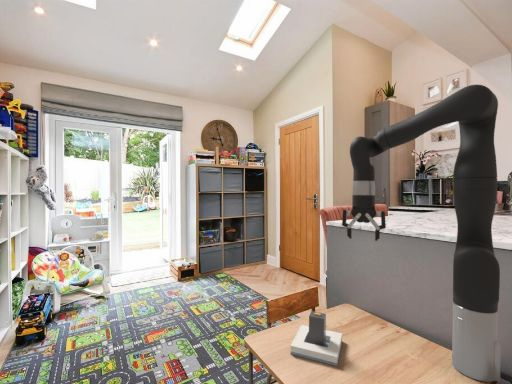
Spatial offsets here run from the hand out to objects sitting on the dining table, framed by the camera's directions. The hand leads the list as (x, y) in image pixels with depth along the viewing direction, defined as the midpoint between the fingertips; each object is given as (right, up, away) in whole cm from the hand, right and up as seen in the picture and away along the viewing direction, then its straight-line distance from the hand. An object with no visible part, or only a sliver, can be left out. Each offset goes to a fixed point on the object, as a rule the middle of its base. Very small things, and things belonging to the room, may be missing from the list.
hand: (363, 239), depth 95 cm
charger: (-20, -29, -14) cm, 38 cm away
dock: (-20, -30, -14) cm, 39 cm away
